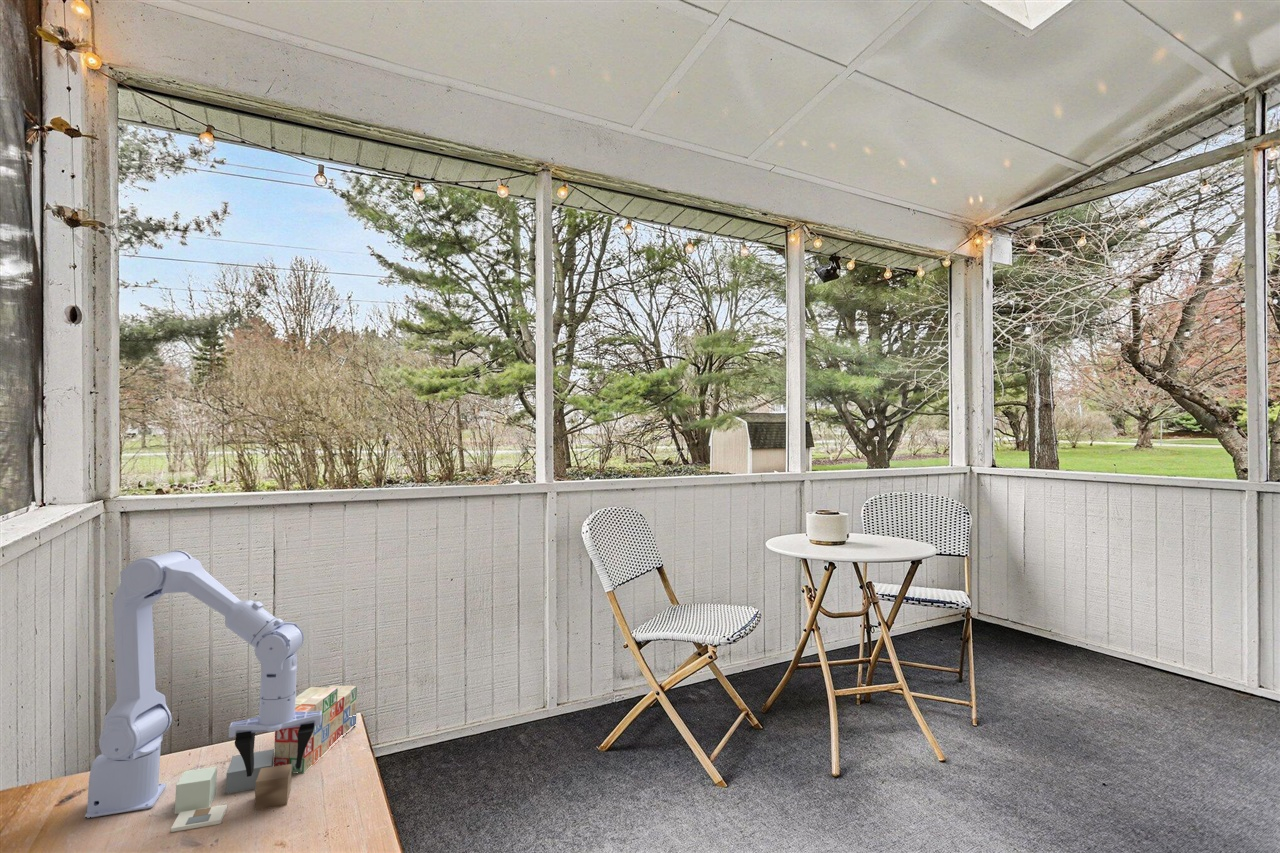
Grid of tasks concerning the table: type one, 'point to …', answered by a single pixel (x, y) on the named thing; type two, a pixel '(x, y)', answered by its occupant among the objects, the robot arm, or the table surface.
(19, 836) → the table surface
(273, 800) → the walnut block
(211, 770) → the sage block
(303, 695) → the stack of blocks
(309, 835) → the table surface
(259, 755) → the slate block
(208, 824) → the card
